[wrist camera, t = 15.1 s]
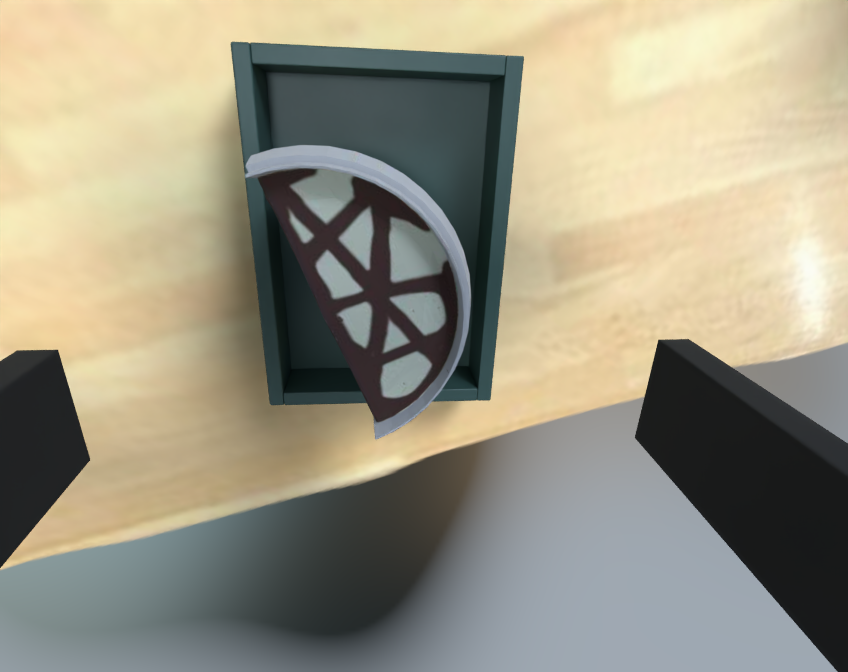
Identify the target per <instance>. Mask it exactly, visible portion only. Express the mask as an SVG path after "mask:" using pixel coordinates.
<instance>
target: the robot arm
mask: <svg viewBox="0 0 848 672" xmlns="http://www.w3.org/2000/svg"><path fill="white" fill-rule="evenodd" d="M635 438H636V440H637V441H638V442H639V443H640V444H641V445H642V446H643V448H644V449H645V450H646V451H647V452H648V453H649V454H650V456H651V457H652V458H653V459H654V460H655V461H656V463H657V464H658V465H659V466H660V467H661V468H662V470H663V471H664V472H665V473H666V474H667V475H668V476H669V478H670V479H671V480H672V481H673V482H674V483H675V485H676V486H677V487H678V488H679V489H680V490H681V491H682V492H683V494H684V495H685V496H686V497H687V498H688V500H689V501H690V502H691V503H692V504H693V505H694V506H695V508H696V509H697V510H698V511H699V512H700V513H701V515H702V516H703V517H704V518H705V519H706V520H707V521H708V523H709V524H710V525H711V526H712V527H713V528H714V530H715V531H716V532H717V533H718V534H719V535H720V536H721V538H722V539H723V540H724V541H725V542H726V543H727V545H728V546H729V547H730V548H731V549H732V550H733V551H734V553H736V555H737V556H738V557H739V558H740V560H741V561H742V562H743V563H744V564H745V565H746V566H747V568H748V569H749V570H750V571H751V572H752V573H753V575H754V576H755V577H756V578H757V579H758V580H759V581H760V582H761V584H762V585H763V586H764V587H765V588H766V590H767V591H768V592H769V593H770V594H771V595H772V596H773V598H774V599H775V600H776V601H777V602H778V603H779V605H780V606H781V607H782V608H783V609H784V610H785V611H786V613H787V614H788V615H789V616H790V617H791V618H792V619H793V621H794V622H795V623H796V624H797V625H798V626H799V628H800V629H801V630H802V631H803V632H804V633H805V635H806V636H807V637H808V638H809V639H810V640H811V641H812V643H813V644H814V645H815V646H816V647H817V648H818V650H819V651H820V652H821V653H822V654H823V655H824V656H825V658H826V659H827V660H828V661H829V662H830V663H831V664H832V666H833V667H834V668H835V669H836V670H837V671H838V672H848V443H846V442H844V441H843V440H841V439H840V438H838V437H837V436H835V435H834V434H832V433H831V432H829V431H828V430H826V429H825V428H823V427H822V426H820V425H819V424H817V423H816V422H814V421H813V420H811V419H810V418H808V417H806V416H805V415H803V414H802V413H800V412H798V411H797V410H795V409H794V408H793V407H791V406H790V405H788V404H787V403H785V402H783V401H782V400H781V399H779V398H778V397H776V396H774V395H773V394H771V393H770V392H768V391H767V390H765V389H764V388H762V387H761V386H759V385H758V384H756V383H755V382H753V381H752V380H750V379H748V378H747V377H745V376H744V375H742V374H741V373H739V372H738V371H736V370H735V369H733V368H732V367H730V366H729V365H727V364H726V363H724V362H723V361H721V360H720V359H718V358H717V357H715V356H713V355H712V354H710V353H709V352H707V351H706V350H704V349H703V348H701V347H700V346H698V345H697V344H695V343H694V342H692V341H691V340H689V339H679V340H658V344H657V348H656V352H655V357H654V361H653V365H652V369H651V373H650V377H649V381H648V385H647V390H646V394H645V398H644V402H643V406H642V410H641V414H640V418H639V423H638V427H637V431H636V435H635ZM89 461H90V457H89V454H88V450H87V447H86V444H85V440H84V437H83V433H82V430H81V427H80V423H79V420H78V416H77V413H76V410H75V406H74V403H73V399H72V396H71V393H70V389H69V386H68V383H67V379H66V376H65V372H64V369H63V366H62V362H61V359H60V355H59V352H58V350H21V351H16V352H14V353H13V354H11V355H10V356H8V357H6V358H5V359H3V360H2V361H0V568H1V567H2V565H3V564H4V563H5V562H6V561H7V559H8V558H9V557H10V556H11V555H12V553H13V552H14V551H15V550H16V549H17V547H18V546H19V545H20V544H21V543H22V541H23V540H24V539H25V538H26V536H27V535H28V534H29V533H30V532H31V530H32V529H33V528H34V527H35V526H36V524H37V523H38V522H39V521H40V520H41V518H42V517H43V516H44V515H45V514H46V512H47V511H48V510H49V509H50V508H51V506H52V505H53V504H54V503H55V502H56V500H57V499H58V498H59V497H60V496H61V494H62V493H63V492H64V491H65V490H66V488H67V487H68V486H69V485H70V484H71V482H72V481H73V480H74V479H75V478H76V476H77V475H78V474H79V473H80V472H81V470H82V469H83V468H84V467H85V466H86V464H87V463H88V462H89Z"/></svg>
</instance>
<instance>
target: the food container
mask: <svg viewBox="0 0 848 672" xmlns="http://www.w3.org/2000/svg"><path fill="white" fill-rule="evenodd" d="M245 166H246V168H247V170H248V172H249V173H247V174H245V177H246V178H258V181H259V183H260V185H261V187H262V189H263V191H264V194H265V197H266V200H267V201H268V203H269V204H270V205H271V207H272V209H273V211H274V213H275V215H276V216H277V218H278V220H279V222H280V224H281V227H282V229H283V231H284V233H285V235H286V237H287V239H288V241H289V243H290V246H291V248H292V250H293V252H294V254H295V256H296V258H297V260H298V263H299V265H300V267H301V269H302V271H303V273H304V275H305V277H306V280H307V282H308V284H309V286H310V289H311V291H312V293H313V295H314V297H315V300H316V302H317V304H318V306H319V309H320V311H321V313H322V315H323V318H324V319H325V321H326V323H327V325H328V327H329V329H330V331H331V333H332V334H333V336H334V338H335V340H336V342H337V344H338V346H339V348H340V350H341V352H342V354H343V356H344V357H345V359H346V361H347V363H348V365H349V367H350V369H351V371H352V373H353V375H354V377H355V380H356V382H357V384H358V386H359V388H360V390H361V392H362V394H363V396H364V398H365V400H366V402H367V404H368V406H369V408H370V410H371V412H372V414H373V416H374V430H375V439H378V438H381V437H383V436H385V435H387V434H389V433H392V432H394V431H395V430H397V429H399V428H400V427H402V426H403V425H405V424H407V423H408V422H410V421H411V420H412V419H414V418H415V417H416V416H417V415H418V414H420V413H421V412H422V411H423V410H424V409H426V408H427V407H428V405H429V404H430V403H431V402H432V401H433V400H434V399H435V397H436V396H437V395H438V394H439V393H440V392H441V390H442V388H443V387H444V386H445V384H446V383H447V381H448V380H449V378H450V376H451V375H452V373H453V372H454V370H455V368H456V366H457V363H458V361H459V359H460V357H461V354H462V352H463V349H464V345H465V341H466V338H467V334H468V329H469V319H470V307H471V288H470V275H469V270H468V266H467V262H466V258H465V254H464V251H463V248H462V246H461V244H460V241H459V239H458V237H457V234H456V232H455V230H454V228H453V227H452V225H451V224H450V222H449V220H448V219H447V217H446V216H445V214H444V213H443V211H442V210H441V208H440V207H439V206H438V205H437V204H436V203H435V202H434V201H433V199H432V198H431V197H430V196H429V195H428V194H427V193H426V192H425V191H424V190H423V189H422V188H421V187H419V186H418V185H417V184H416V183H415V182H413V181H412V180H411V179H410V178H408V177H407V176H406V175H405V174H403V173H401V172H400V171H398V170H396V169H394V168H393V167H391V166H389V165H387V164H386V163H384V162H382V161H380V160H377V159H375V158H372V157H369V156H367V155H364V154H361V153H359V152H356V151H351V150H346V149H341V148H336V147H331V146H315V145H297V146H290V147H282V148H274V149H271V150H268V151H264V152H261V153H258V154H254V155H251V156H250V158H249V160H248V162H247V163H246V165H245Z"/></svg>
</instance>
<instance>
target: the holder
mask: <svg viewBox="0 0 848 672" xmlns="http://www.w3.org/2000/svg"><path fill="white" fill-rule="evenodd" d="M231 52H232V61H233V70H234V79H235V89H236V98H237V107H238V116H239V125H240V135H241V144H242V153H243V162H244V171H245V174H247V173H249V172H248V170H247V168H246V166H245V165H246V163H247V162H248V160H249V158H250V156H251V155H254V154H258V153H261V152H264V151H268V150H271V149H274V148H282V147H290V146H297V145H315V146H331V147H336V148H341V149H346V150H351V151H356V152H359V153H361V154H364V155H367V156H369V157H372V158H375V159H377V160H380V161H382V162H384V163H386V164H387V165H389V166H391V167H393V168H394V169H396V170H398V171H400V172H401V173H403V174H405V175H406V176H407V177H408V178H410V179H411V180H412V181H413V182H415V183H416V184H417V185H418V186H419V187H421V188H422V189H423V190H424V191H425V192H426V193H427V194H428V195H429V196H430V197H431V198H432V199H433V201H434V202H435V203H436V204H437V205H438V206H439V207H440V208H441V210H442V211H443V213H444V214H445V216H446V217H447V219H448V220H449V222H450V224H451V225H452V227H453V228H454V230H455V232H456V234H457V237H458V239H459V241H460V244H461V246H462V248H463V251H464V254H465V258H466V262H467V266H468V270H469V275H470V288H471V307H470V319H469V329H468V334H467V338H466V341H465V345H464V349H463V352H462V354H461V357H460V359H459V361H458V363H457V366H456V368H455V370H454V372H453V373H452V375H451V376H450V378H449V380H448V381H447V383H446V384H445V386H444V387H443V388H442V390H441V392H440V393H439V394H438V395H437V396H436V397H435V399H434V400H433V401H471V400H490V398H491V388H492V378H493V368H494V357H495V347H496V337H497V327H498V316H499V306H500V296H501V286H502V276H503V265H504V255H505V245H506V235H507V225H508V214H509V204H510V194H511V184H512V173H513V163H514V153H515V143H516V133H517V122H518V112H519V102H520V92H521V81H522V71H523V61H524V57H523V56H505V55H486V54H467V53H447V52H427V51H408V50H388V49H368V48H349V47H329V46H309V45H289V44H270V43H248V42H231ZM245 180H246V190H247V199H248V208H249V217H250V226H251V236H252V245H253V254H254V263H255V272H256V282H257V291H258V300H259V309H260V318H261V327H262V337H263V346H264V355H265V364H266V373H267V383H268V392H269V401H270V405H284V404H285V405H305V404H347V403H367V402H366V400H365V398H364V396H363V394H362V392H361V390H360V388H359V386H358V384H357V382H356V380H355V377H354V375H353V373H352V371H351V369H350V367H349V365H348V363H347V361H346V359H345V357H344V356H343V354H342V352H341V350H340V348H339V346H338V344H337V342H336V340H335V338H334V336H333V334H332V333H331V331H330V329H329V327H328V325H327V323H326V321H325V319H324V318H323V315H322V313H321V311H320V309H319V306H318V304H317V302H316V300H315V297H314V295H313V293H312V291H311V289H310V286H309V284H308V282H307V280H306V277H305V275H304V273H303V271H302V269H301V267H300V265H299V263H298V260H297V258H296V256H295V254H294V252H293V250H292V248H291V246H290V243H289V241H288V239H287V237H286V235H285V233H284V231H283V229H282V227H281V224H280V222H279V220H278V218H277V216H276V215H275V213H274V211H273V209H272V207H271V205H270V204H269V203H268V201H267V200H266V197H265V194H264V191H263V189H262V187H261V185H260V183H259V181H258V178H246V177H245Z"/></svg>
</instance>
